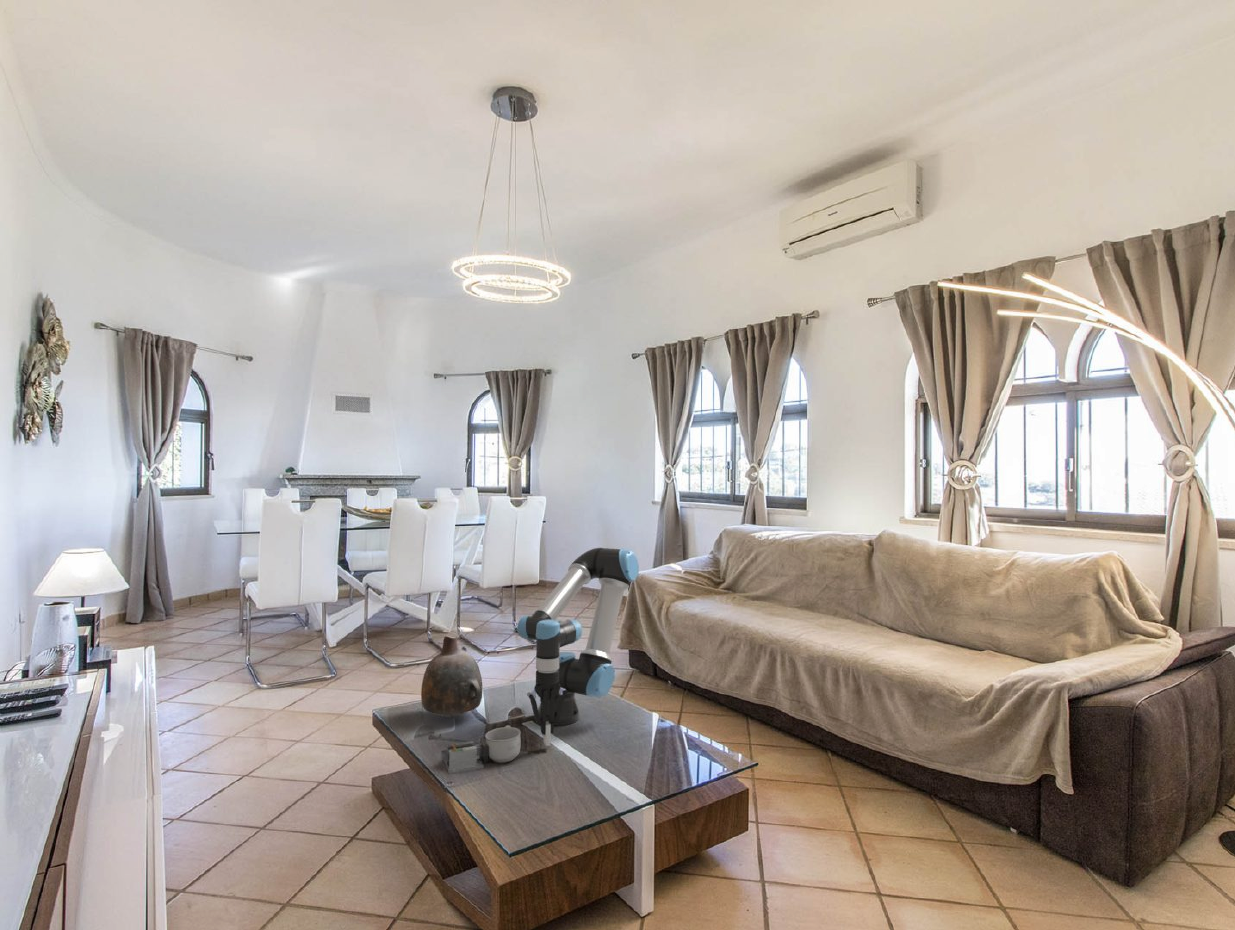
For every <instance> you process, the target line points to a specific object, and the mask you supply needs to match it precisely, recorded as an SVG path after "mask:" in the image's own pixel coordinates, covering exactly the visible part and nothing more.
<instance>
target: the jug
mask: <svg viewBox="0 0 1235 930" xmlns="http://www.w3.org/2000/svg"><path fill="white" fill-rule="evenodd" d="M442 641H443V642H442V649H441V651H440V653H438V654H436V655H435V656H433V658H432V659H431V660H430V661H429V663H428V664H427V666H426V668H425V671H424V673H423V678H422V683H421V691H420V692H421V693H420V695H421V699H420V700H421V705H422V708H423V709H424V710H425V711H426V712H428V713H430V714H434V715H437V716H438V715H439V716H443V717H445V718H448V719H450V720H451V719H454V718H455V717H457V716H459V715H462V714H466V713H468V712H470V711H474V710H475V709H478V707H479V706H480V705H481V702H482V699H483V691H484V690H483V689H484V688H483V680H482V678H483V677H482V675H481V674H482V673H481V670H480V668H479V665H478V663H477V660H476V659H475V658H474V657H473V656H472V655H471V654H470V653H469V652H467V647H466V646H462V647H461V650H460V649H459V646H458V638H457V636H454V637H453V636H450V635H445V636H444V638H443V640H442Z"/></svg>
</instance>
